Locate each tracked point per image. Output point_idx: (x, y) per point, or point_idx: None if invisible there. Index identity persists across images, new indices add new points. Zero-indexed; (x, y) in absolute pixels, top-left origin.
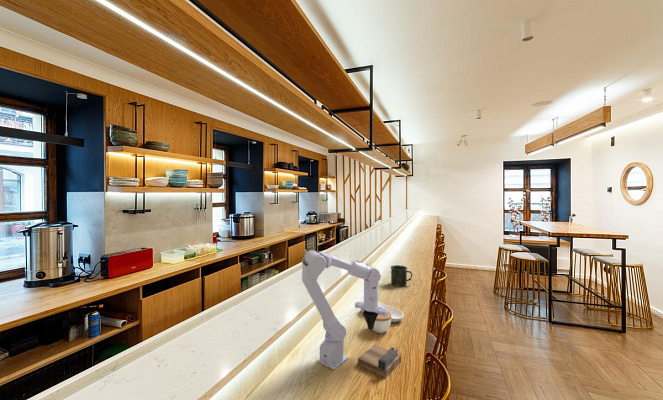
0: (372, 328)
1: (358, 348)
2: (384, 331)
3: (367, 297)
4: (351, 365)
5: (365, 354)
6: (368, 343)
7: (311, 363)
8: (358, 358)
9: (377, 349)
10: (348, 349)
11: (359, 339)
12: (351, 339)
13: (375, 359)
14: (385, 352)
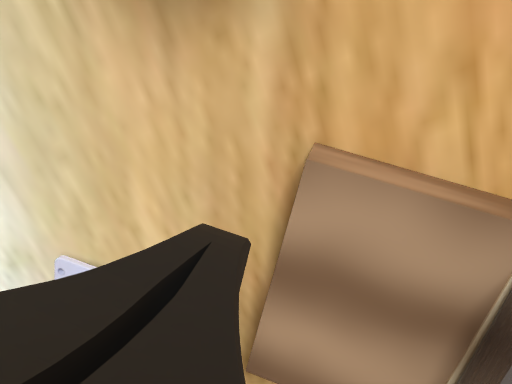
0: (242, 274)
1: (184, 156)
2: None
3: None
4: None
5: (280, 320)
6: (228, 38)
7: None
8: (250, 371)
9: (359, 227)
10: (128, 196)
11: (128, 4)
12: (73, 41)
13: (375, 362)
14: (448, 252)
